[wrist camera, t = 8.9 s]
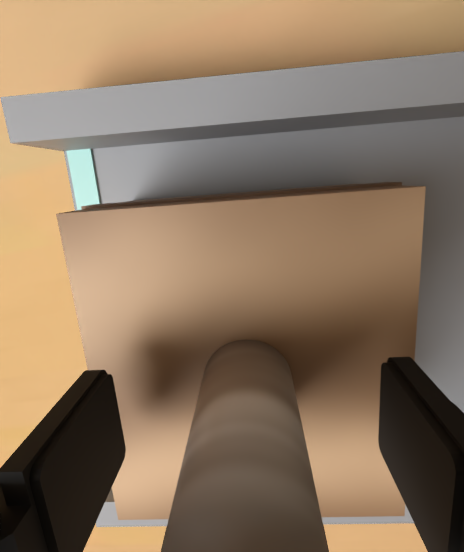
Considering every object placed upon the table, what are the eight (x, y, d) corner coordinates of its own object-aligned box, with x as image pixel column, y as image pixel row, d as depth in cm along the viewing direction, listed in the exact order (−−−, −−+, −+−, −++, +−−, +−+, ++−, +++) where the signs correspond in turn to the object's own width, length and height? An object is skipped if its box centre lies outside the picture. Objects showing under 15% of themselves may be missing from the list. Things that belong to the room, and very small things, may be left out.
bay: (67, 119, 18) (-20, 90, 12) (712, 59, 16) (978, -11, 10) (128, 454, 23) (88, 546, 17) (618, 442, 21) (757, 540, 15)
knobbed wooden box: (128, 198, 18) (-175, 246, 5) (357, 181, 17) (671, 186, 4) (159, 410, 21) (21, 762, 8) (354, 403, 20) (528, 780, 7)
